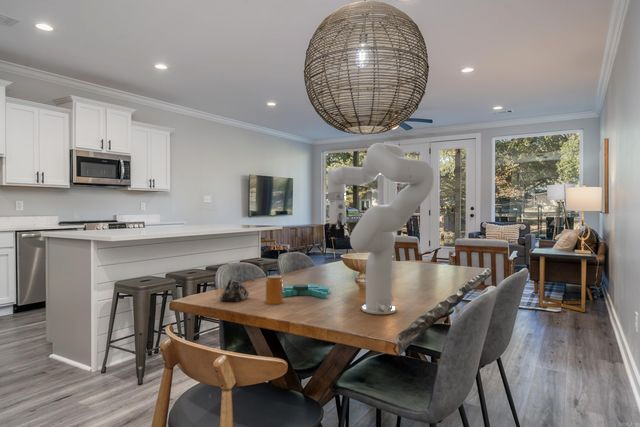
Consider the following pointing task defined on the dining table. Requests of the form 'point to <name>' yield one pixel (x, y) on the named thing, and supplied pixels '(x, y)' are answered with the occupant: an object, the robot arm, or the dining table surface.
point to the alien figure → (307, 291)
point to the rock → (234, 291)
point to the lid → (300, 287)
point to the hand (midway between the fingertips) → (336, 237)
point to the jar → (274, 289)
